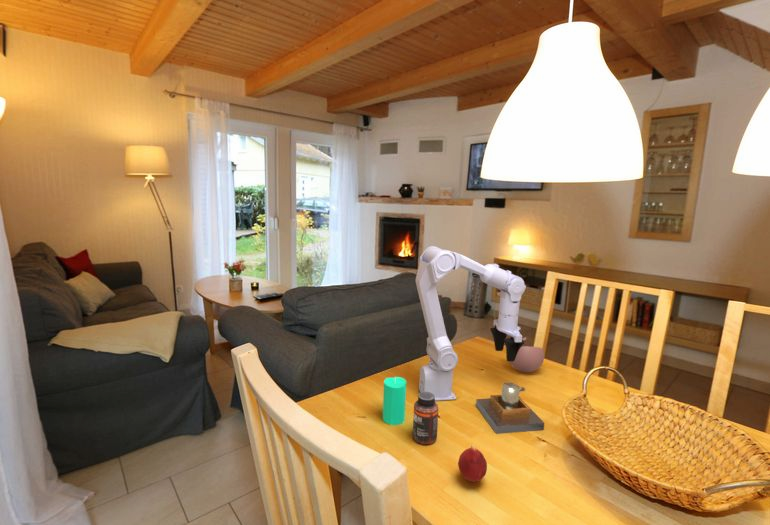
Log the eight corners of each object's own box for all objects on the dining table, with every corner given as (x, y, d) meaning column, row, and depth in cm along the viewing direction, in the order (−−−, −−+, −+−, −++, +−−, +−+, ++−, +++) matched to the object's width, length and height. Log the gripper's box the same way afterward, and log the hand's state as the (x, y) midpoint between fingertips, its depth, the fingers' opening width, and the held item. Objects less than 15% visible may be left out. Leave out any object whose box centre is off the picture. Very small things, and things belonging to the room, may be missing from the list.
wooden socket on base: (496, 433, 97) (497, 417, 96) (475, 405, 109) (477, 391, 109) (543, 430, 99) (545, 414, 98) (518, 402, 112) (519, 388, 111)
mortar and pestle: (535, 363, 138) (538, 333, 136) (547, 379, 126) (551, 346, 124) (501, 362, 139) (504, 331, 137) (510, 377, 127) (514, 345, 125)
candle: (407, 414, 104) (409, 373, 102) (402, 427, 98) (403, 383, 96) (385, 410, 106) (387, 369, 103) (379, 422, 100) (380, 379, 98)
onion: (490, 480, 81) (493, 446, 79) (476, 495, 77) (480, 459, 75) (466, 466, 85) (468, 434, 83) (451, 480, 80) (454, 446, 79)
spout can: (505, 415, 101) (507, 391, 100) (497, 406, 106) (499, 382, 104) (527, 414, 102) (529, 389, 101) (518, 405, 107) (521, 381, 105)
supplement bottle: (436, 431, 97) (439, 390, 95) (437, 447, 91) (440, 403, 89) (412, 429, 97) (414, 388, 95) (411, 444, 92) (414, 401, 89)
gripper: (533, 320, 110) (528, 365, 112) (509, 306, 124) (505, 345, 127) (510, 321, 109) (506, 366, 111) (488, 306, 123) (485, 346, 125)
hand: (504, 355), depth 119 cm, fingers open, 7 cm apart
